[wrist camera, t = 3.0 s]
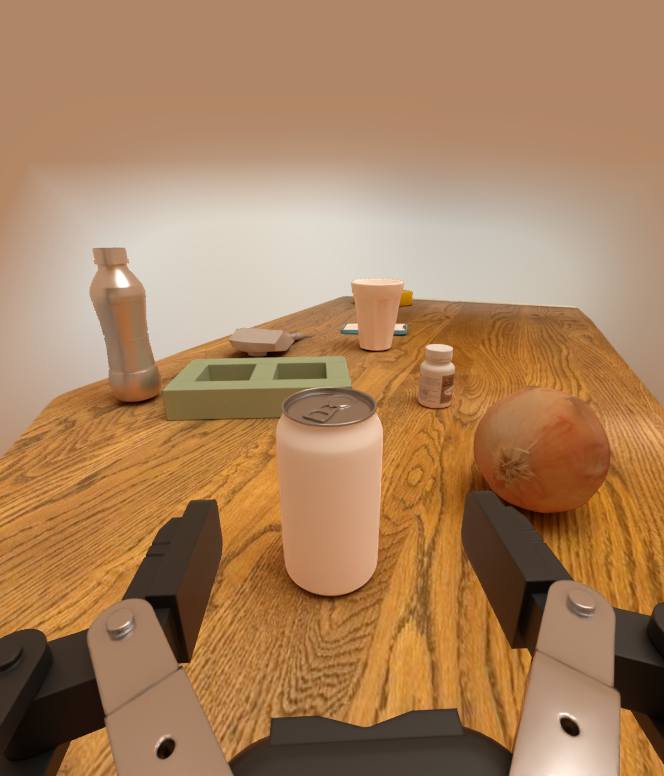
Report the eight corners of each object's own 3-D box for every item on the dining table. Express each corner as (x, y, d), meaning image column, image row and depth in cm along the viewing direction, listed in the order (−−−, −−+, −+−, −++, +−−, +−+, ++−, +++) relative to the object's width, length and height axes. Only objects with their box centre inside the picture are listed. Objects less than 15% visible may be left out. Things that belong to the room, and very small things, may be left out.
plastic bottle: (155, 386, 60) (130, 247, 52) (170, 399, 55) (144, 248, 48) (108, 396, 56) (74, 248, 49) (119, 412, 51) (83, 249, 44)
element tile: (414, 305, 127) (415, 290, 125) (376, 309, 120) (376, 293, 118) (387, 299, 139) (387, 285, 137) (350, 302, 132) (351, 288, 131)
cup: (344, 352, 76) (344, 283, 71) (357, 340, 85) (358, 278, 80) (395, 357, 73) (399, 285, 68) (403, 343, 82) (407, 279, 77)
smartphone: (345, 323, 97) (407, 323, 95) (345, 328, 98) (406, 328, 95) (340, 330, 91) (406, 330, 88) (340, 335, 91) (406, 335, 88)
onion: (451, 509, 32) (464, 398, 29) (484, 457, 40) (498, 363, 36) (588, 561, 27) (625, 432, 24) (596, 489, 35) (626, 384, 31)
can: (392, 549, 28) (402, 395, 24) (348, 618, 23) (349, 439, 19) (318, 518, 32) (314, 377, 27) (265, 573, 26) (250, 411, 22)
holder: (351, 415, 49) (352, 386, 48) (167, 420, 49) (161, 390, 47) (344, 380, 61) (344, 356, 60) (196, 383, 61) (193, 358, 59)
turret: (311, 348, 87) (312, 326, 86) (269, 360, 68) (269, 333, 67) (271, 345, 90) (271, 324, 89) (220, 355, 71) (219, 329, 70)
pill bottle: (449, 411, 50) (456, 353, 48) (415, 406, 52) (419, 350, 49) (452, 398, 54) (458, 344, 51) (420, 394, 56) (424, 341, 53)
